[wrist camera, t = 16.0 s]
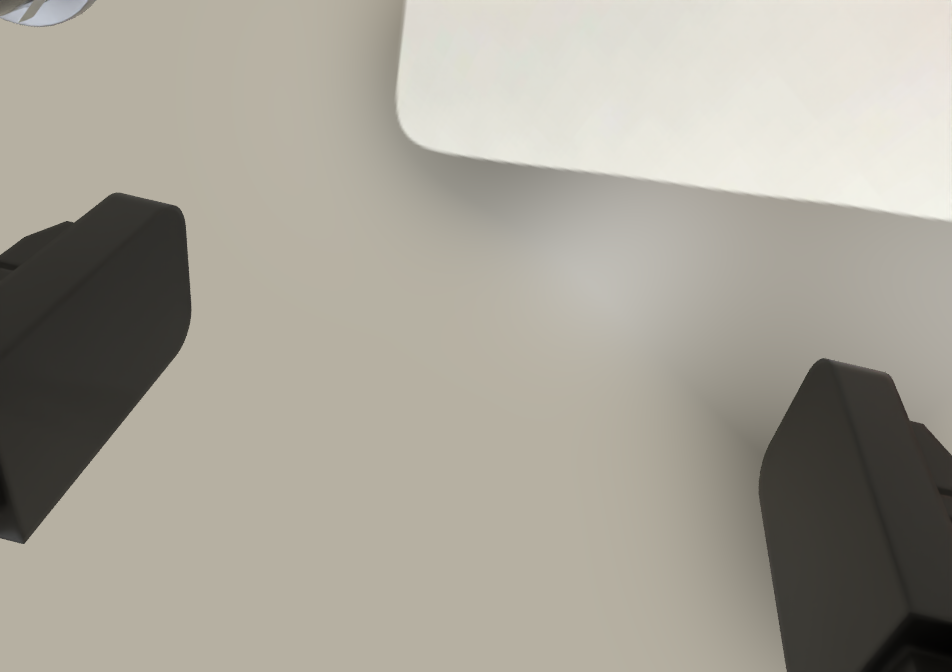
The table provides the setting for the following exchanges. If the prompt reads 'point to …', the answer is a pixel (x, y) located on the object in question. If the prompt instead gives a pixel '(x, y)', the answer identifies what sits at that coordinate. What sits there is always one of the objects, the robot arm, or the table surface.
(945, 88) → the table surface
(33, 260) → the robot arm
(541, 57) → the table surface
